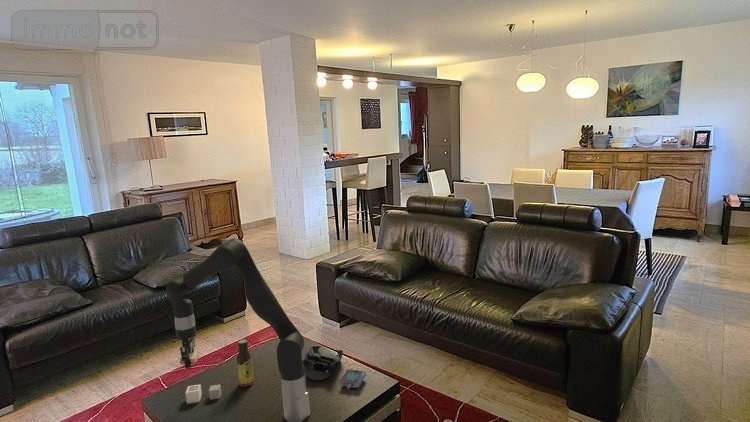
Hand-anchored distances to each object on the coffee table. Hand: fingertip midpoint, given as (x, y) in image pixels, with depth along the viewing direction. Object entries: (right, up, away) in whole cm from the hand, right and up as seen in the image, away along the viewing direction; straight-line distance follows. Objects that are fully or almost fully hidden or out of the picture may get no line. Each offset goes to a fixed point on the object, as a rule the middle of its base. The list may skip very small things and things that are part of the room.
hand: (190, 363), depth 175 cm
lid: (0, +1, 0) cm, 1 cm away
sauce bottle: (+20, -14, +13) cm, 27 cm away
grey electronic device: (+68, -12, +13) cm, 70 cm away
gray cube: (+9, -15, +4) cm, 18 cm away
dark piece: (+52, -11, +21) cm, 57 cm away
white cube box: (+1, -16, +3) cm, 16 cm away
